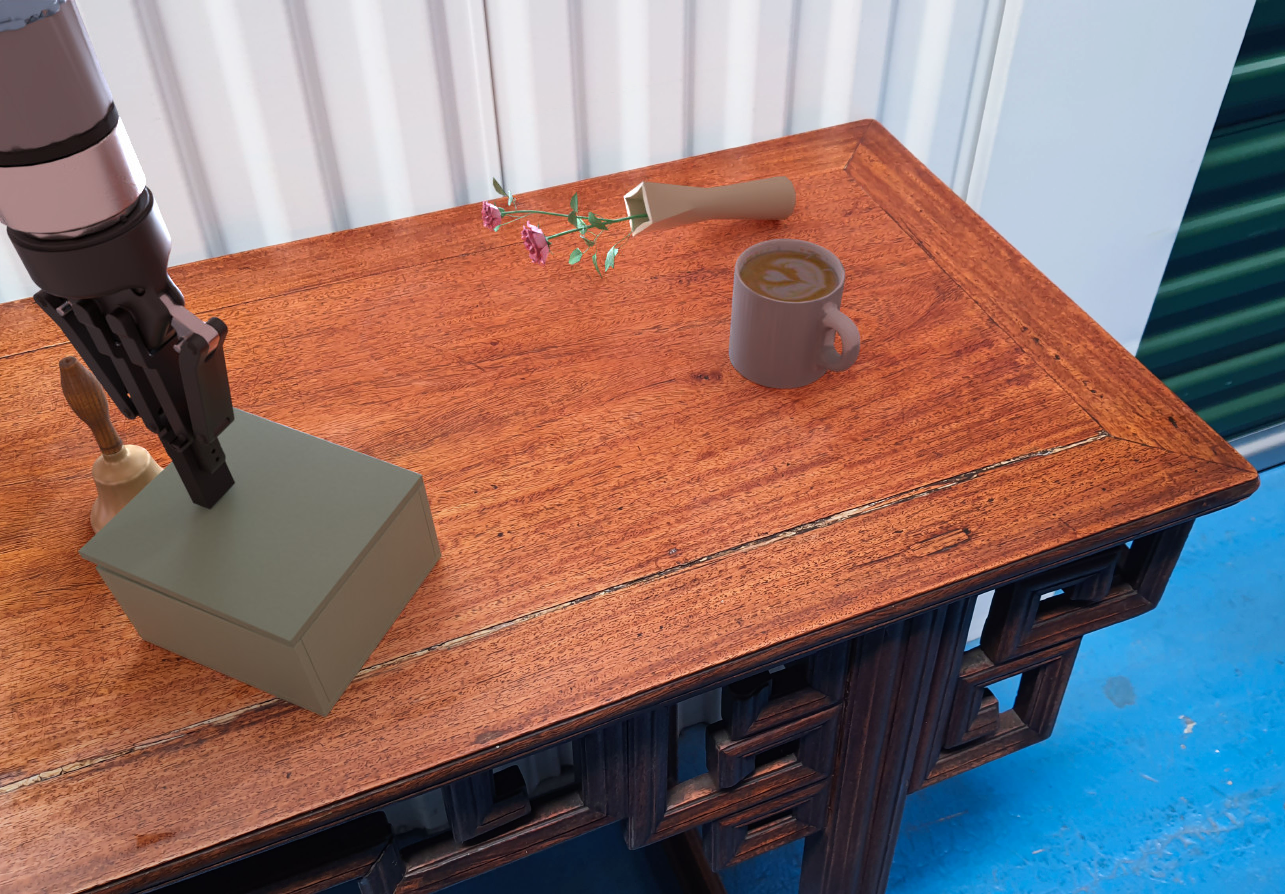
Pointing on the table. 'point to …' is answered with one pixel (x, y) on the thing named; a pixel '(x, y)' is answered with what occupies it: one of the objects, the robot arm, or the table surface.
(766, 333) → the coffee mug
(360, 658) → the chest
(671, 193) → the flower vase
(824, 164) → the table surface
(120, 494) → the hand bell
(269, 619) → the chest lid
